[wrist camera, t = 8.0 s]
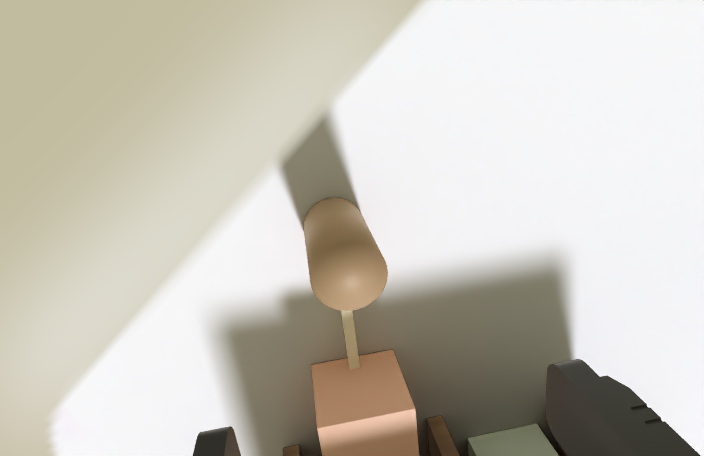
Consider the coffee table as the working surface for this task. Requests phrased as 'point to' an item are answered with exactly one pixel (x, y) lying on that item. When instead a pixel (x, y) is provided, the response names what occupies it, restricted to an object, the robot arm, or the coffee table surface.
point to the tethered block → (355, 342)
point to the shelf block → (512, 443)
